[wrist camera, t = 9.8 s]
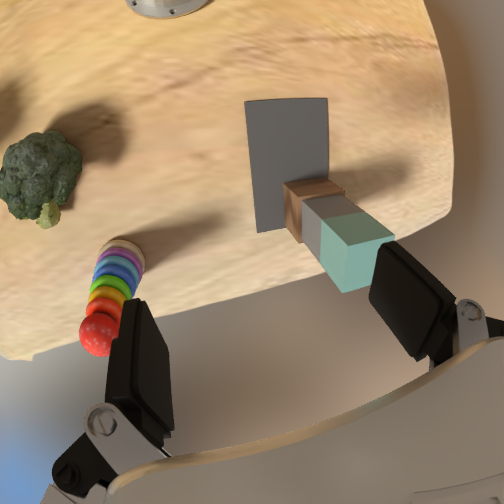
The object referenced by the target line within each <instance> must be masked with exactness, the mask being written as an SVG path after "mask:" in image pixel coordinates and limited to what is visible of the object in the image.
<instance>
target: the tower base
mask: <svg viewBox="0 0 504 504" xmlns="http://www.w3.org/2000/svg"><path fill="white" fill-rule="evenodd" d="M283 194H284V217H285V226H286V227H287V229H288V230H289V231H290V233H291V234H292V235H293V237H294V238H295V239H296V241H297V242H298V243H304V242H303V241H302V200H306V199H313V198H320V197H327V196H333V195H341V194H342V195H343V196H344V195H345V190H343V189H342V188H340V187H339V186H337V185H336V184H334V183H333V182H331V181H329V180H328V179H326V178H319V179H311V180H303V181H296V182H288V183H283Z"/></svg>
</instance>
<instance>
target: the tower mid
mask: <svg viewBox="0 0 504 504" xmlns="http://www.w3.org/2000/svg"><path fill="white" fill-rule="evenodd" d="M360 212H365V211H364V210H362V209H361V208H360V207H358V206H357V205H355V204H354V203H353V202H351V201H350V200H349V199H347V198H346V197H344V196H343V195H342V194H341V195H333V196H327V197H320V198H313V199H306V200H302V241H303V242H304V243H305V244H306V246H307V247H308V248H309V250H310V251H311V252H312V253H313V255H314V256H315V257H316V259H317V260H318V261H319V263H320V249H321V220H322V219H327V218H332V217H338V216H343V215H349V214H354V213H360Z"/></svg>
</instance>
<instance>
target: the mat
mask: <svg viewBox="0 0 504 504" xmlns="http://www.w3.org/2000/svg"><path fill="white" fill-rule="evenodd" d="M244 105H245V114H246V124H247V134H248V144H249V154H250V164H251V175H252V185H253V195H254V206H255V217H256V227H257V233H260V232H266V231H271V230H276V229H281V228H287V227H286V226H285V217H284V194H283V183H288V182H296V181H303V180H311V179H319V178H326V179H328V122H327V98H301V99H276V100H261V101H249V102H244Z"/></svg>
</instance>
